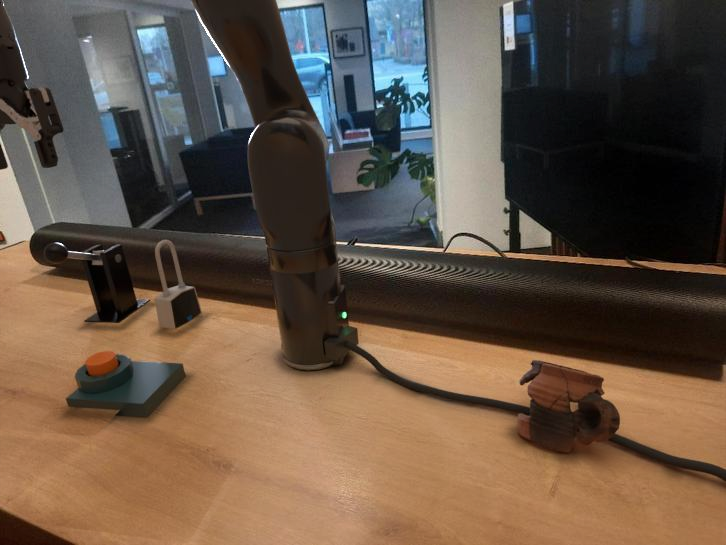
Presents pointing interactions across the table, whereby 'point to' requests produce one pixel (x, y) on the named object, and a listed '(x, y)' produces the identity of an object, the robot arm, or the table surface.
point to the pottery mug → (566, 407)
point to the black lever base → (111, 286)
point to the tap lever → (69, 254)
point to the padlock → (175, 296)
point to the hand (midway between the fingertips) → (25, 168)
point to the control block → (127, 387)
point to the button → (101, 363)
